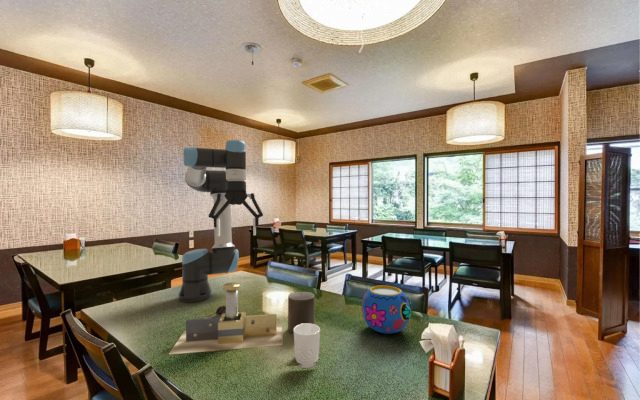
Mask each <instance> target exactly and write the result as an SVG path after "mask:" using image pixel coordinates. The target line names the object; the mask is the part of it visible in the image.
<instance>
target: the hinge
mask: <svg viewBox="0 0 640 400" xmlns="http://www.w3.org/2000/svg"><path fill="white" fill-rule="evenodd" d="M276 324H277V313H270V314H269V313H267V314H253V315H246V311H241V312H239V311H238V320H233V321H226V313H222V315H221V317H220V318H205V319H200V318H191V319H186V320H185V331H186V342H189V341H202V340H215V339H218V344H227V343H239V342H243V341H244V337H254V336H267V335H277V328H276Z"/></svg>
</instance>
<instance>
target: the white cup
mask: <svg viewBox="0 0 640 400" xmlns="http://www.w3.org/2000/svg"><path fill="white" fill-rule="evenodd" d="M293 330H294V335H293V346H294V355H295V361H296V363H298V364H297V367H299V368H302V369H311V368H314V367H316V366H317V365H318V360H319V352H320V333H321V328H320V326H319V325H317V324H311V323H304V324H299V325H297V326H295V327H294V329H293Z"/></svg>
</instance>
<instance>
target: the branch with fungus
mask: <svg viewBox="0 0 640 400" xmlns="http://www.w3.org/2000/svg"><path fill="white" fill-rule="evenodd" d="M238 311H239V308H238ZM222 313H226V305H222V306H221V305H220V306H218V307H217V308H216V310H215V313H212V314H209V315H206V316H203V317H200V318H199V319H205V318H220V317H221V315H222Z"/></svg>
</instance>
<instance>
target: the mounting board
mask: <svg viewBox="0 0 640 400" xmlns="http://www.w3.org/2000/svg"><path fill="white" fill-rule="evenodd" d="M276 328H277V335H267V336H254V337H244V341H243V342H239V343H227V344H218V339H215V340H202V341H189V342H186V330H184V331H183V333H182V334H181V336H180V337H179V339H178V340H177V341H176V343H175V344H174V346H173V347H172V349H170V352H169V353H168V354H167V355H178V354H192V353H201V352H204V353H206V352H214V351H215V352H216V351H225V350H238V349H251V348H263V347H275V346H277V347H278V346H284V342H283V340H284V339H283V324H282V323H276Z"/></svg>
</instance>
